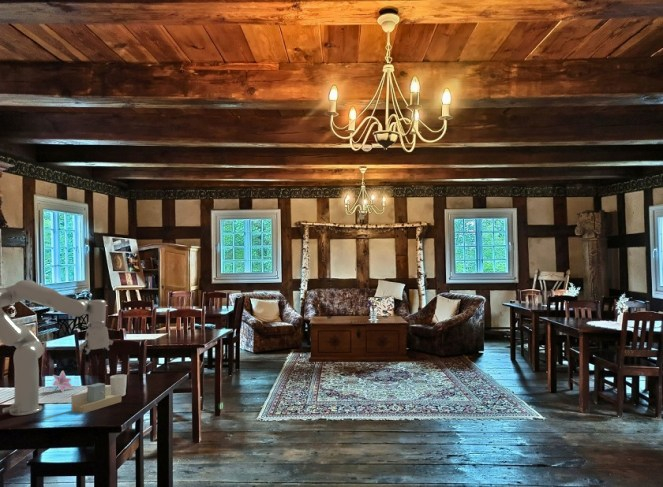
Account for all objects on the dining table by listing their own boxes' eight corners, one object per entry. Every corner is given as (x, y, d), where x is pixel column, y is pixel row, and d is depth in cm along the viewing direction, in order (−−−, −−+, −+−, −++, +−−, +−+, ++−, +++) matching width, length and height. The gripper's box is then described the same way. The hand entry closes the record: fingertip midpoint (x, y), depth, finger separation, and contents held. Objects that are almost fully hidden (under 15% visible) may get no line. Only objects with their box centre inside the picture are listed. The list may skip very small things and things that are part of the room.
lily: (48, 396, 247) (56, 380, 247) (42, 384, 255) (51, 369, 255) (70, 398, 256) (79, 383, 256) (64, 386, 264) (73, 371, 264)
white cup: (108, 398, 238) (108, 378, 239) (111, 394, 246) (111, 375, 246) (125, 396, 240) (125, 377, 241) (127, 392, 248) (127, 373, 249)
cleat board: (83, 413, 214) (83, 397, 214) (71, 410, 218) (71, 395, 219) (121, 401, 232) (121, 387, 232) (109, 399, 236) (109, 385, 236)
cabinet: (94, 403, 221) (94, 387, 221) (86, 401, 224) (87, 385, 224) (106, 399, 226) (106, 384, 227) (98, 398, 229) (98, 382, 229)
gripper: (84, 327, 220) (83, 364, 219) (117, 323, 235) (116, 358, 234) (75, 326, 224) (74, 362, 223) (108, 322, 239) (107, 356, 238)
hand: (96, 360), depth 228 cm, fingers open, 9 cm apart
